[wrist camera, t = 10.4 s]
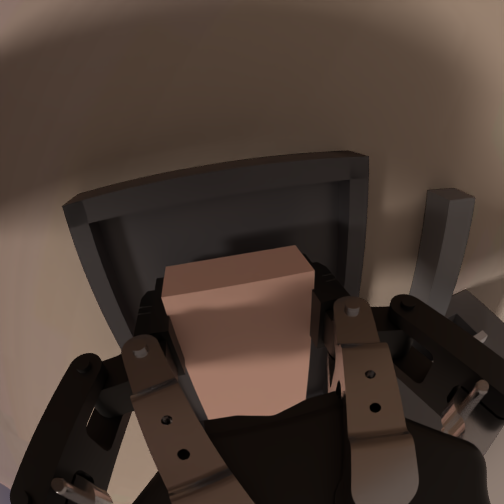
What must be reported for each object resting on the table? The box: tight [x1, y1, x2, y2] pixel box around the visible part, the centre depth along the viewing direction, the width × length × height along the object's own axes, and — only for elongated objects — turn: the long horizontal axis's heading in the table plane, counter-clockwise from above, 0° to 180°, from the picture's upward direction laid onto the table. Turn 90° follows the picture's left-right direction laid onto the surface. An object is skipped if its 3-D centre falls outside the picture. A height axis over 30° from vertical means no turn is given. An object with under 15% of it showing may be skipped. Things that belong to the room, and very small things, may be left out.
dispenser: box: [396, 188, 504, 432], centre depth 15 cm, size 22×14×10 cm, turn 6°
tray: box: [62, 151, 369, 429], centre depth 15 cm, size 19×13×2 cm
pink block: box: [161, 245, 315, 420], centre depth 13 cm, size 14×5×2 cm, turn 5°
